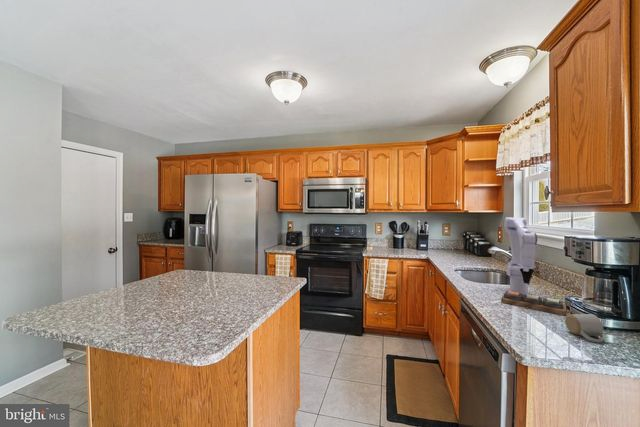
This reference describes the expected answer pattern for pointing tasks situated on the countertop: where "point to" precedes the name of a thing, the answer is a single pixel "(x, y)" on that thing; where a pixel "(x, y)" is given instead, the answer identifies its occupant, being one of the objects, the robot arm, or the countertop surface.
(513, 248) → the robot arm
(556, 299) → the sage button
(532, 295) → the cream button
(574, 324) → the ceramic mug
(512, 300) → the button panel
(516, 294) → the terracotta button
